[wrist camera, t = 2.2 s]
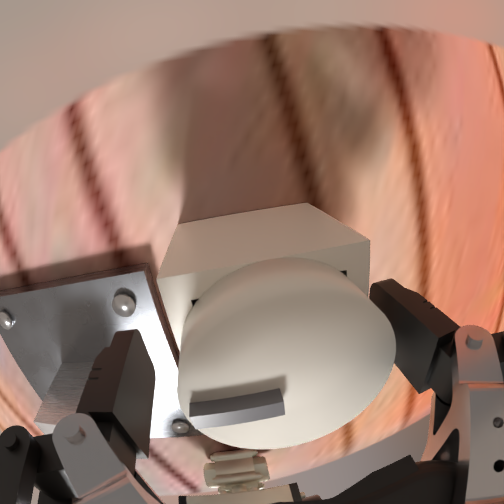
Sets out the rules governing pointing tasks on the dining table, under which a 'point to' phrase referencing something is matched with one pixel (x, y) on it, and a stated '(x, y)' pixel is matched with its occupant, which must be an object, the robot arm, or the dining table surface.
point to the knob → (274, 325)
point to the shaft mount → (89, 340)
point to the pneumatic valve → (243, 481)
